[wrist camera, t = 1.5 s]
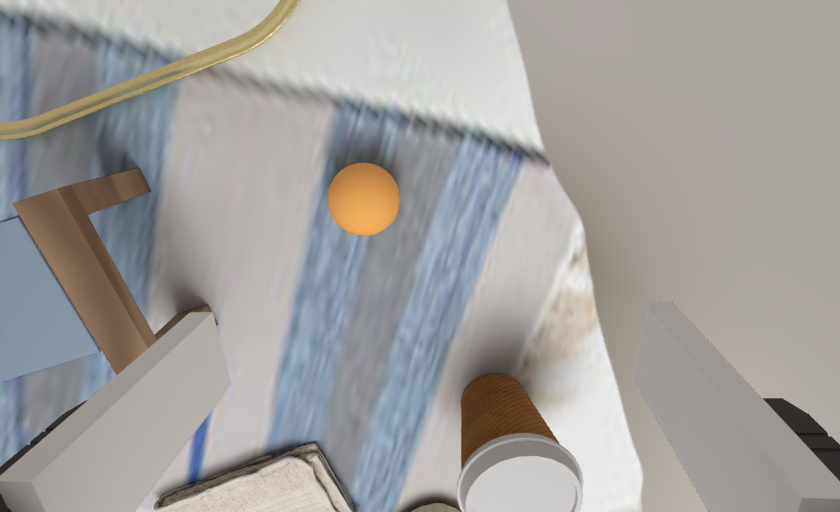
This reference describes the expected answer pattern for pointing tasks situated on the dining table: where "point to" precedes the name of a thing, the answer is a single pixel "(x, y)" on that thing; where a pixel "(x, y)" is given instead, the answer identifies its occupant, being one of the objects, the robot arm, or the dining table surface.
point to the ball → (363, 199)
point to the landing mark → (34, 310)
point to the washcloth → (266, 487)
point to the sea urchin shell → (436, 508)
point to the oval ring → (151, 78)
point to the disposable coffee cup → (512, 454)
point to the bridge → (94, 262)
